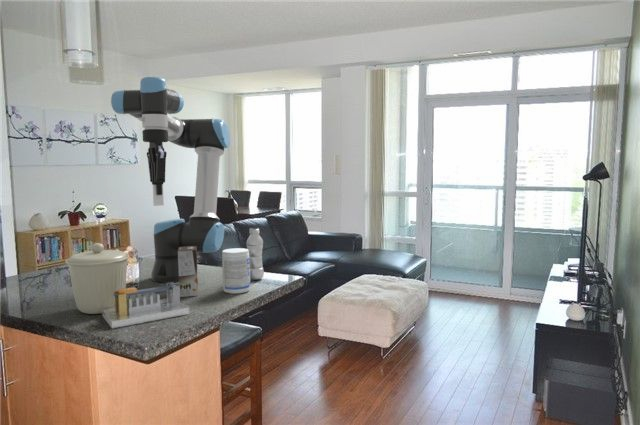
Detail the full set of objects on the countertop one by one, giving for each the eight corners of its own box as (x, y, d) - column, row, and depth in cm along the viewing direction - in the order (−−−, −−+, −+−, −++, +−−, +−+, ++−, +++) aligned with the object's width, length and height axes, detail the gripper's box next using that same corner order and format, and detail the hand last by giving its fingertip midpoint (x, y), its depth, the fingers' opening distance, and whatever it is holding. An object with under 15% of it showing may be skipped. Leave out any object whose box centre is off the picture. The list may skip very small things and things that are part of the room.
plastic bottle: (243, 280, 189) (242, 229, 187) (255, 276, 195) (253, 227, 193) (256, 282, 186) (254, 230, 184) (267, 278, 191) (266, 228, 189)
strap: (113, 296, 144) (113, 289, 143) (173, 288, 153) (173, 281, 153) (116, 299, 141) (115, 292, 141) (177, 290, 151) (176, 283, 151)
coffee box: (198, 296, 168) (196, 249, 166) (179, 297, 166) (177, 250, 165) (198, 289, 177) (196, 245, 175) (179, 290, 175) (178, 246, 173)
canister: (141, 309, 153) (138, 242, 151) (80, 322, 141) (76, 250, 139) (118, 298, 166) (115, 236, 164) (60, 309, 154) (56, 243, 152)
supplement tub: (254, 291, 173) (253, 250, 171) (229, 296, 167) (228, 253, 166) (243, 286, 181) (242, 246, 179) (219, 289, 176) (217, 249, 174)
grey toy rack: (102, 315, 147) (100, 289, 146) (174, 303, 160) (173, 279, 159) (112, 328, 136) (110, 300, 135) (189, 313, 148) (188, 288, 147)
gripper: (137, 130, 154) (140, 204, 156) (148, 127, 143) (152, 207, 146) (161, 130, 158) (164, 203, 161) (174, 128, 147) (177, 206, 150)
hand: (158, 205), depth 153 cm, fingers closed
